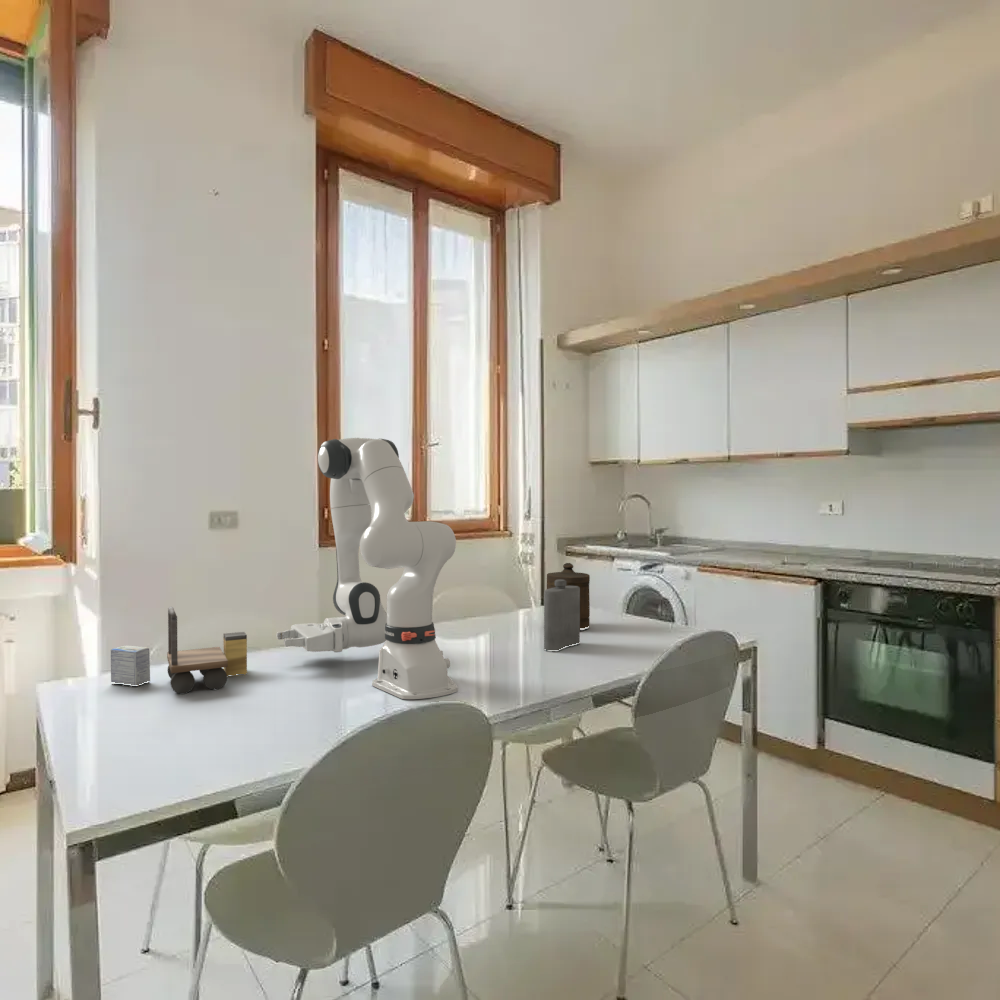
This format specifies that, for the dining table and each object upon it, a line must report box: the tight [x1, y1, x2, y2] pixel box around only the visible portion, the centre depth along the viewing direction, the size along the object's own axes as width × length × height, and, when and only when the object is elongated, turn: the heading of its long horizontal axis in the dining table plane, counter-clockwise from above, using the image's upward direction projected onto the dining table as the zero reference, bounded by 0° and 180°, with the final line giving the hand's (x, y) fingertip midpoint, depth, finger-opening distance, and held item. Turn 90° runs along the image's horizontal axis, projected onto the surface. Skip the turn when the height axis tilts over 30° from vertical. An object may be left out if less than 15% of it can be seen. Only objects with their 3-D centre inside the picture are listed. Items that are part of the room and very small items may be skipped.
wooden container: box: [546, 562, 591, 628], centre depth 235 cm, size 15×15×22 cm
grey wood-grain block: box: [110, 645, 151, 685], centre depth 167 cm, size 8×4×9 cm, turn 71°
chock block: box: [222, 631, 248, 677], centre depth 176 cm, size 4×5×10 cm
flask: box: [543, 579, 581, 650], centre depth 206 cm, size 15×6×20 cm, turn 141°
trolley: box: [166, 606, 228, 694], centre depth 166 cm, size 16×12×18 cm
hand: (280, 639), depth 182 cm, fingers open, 8 cm apart
